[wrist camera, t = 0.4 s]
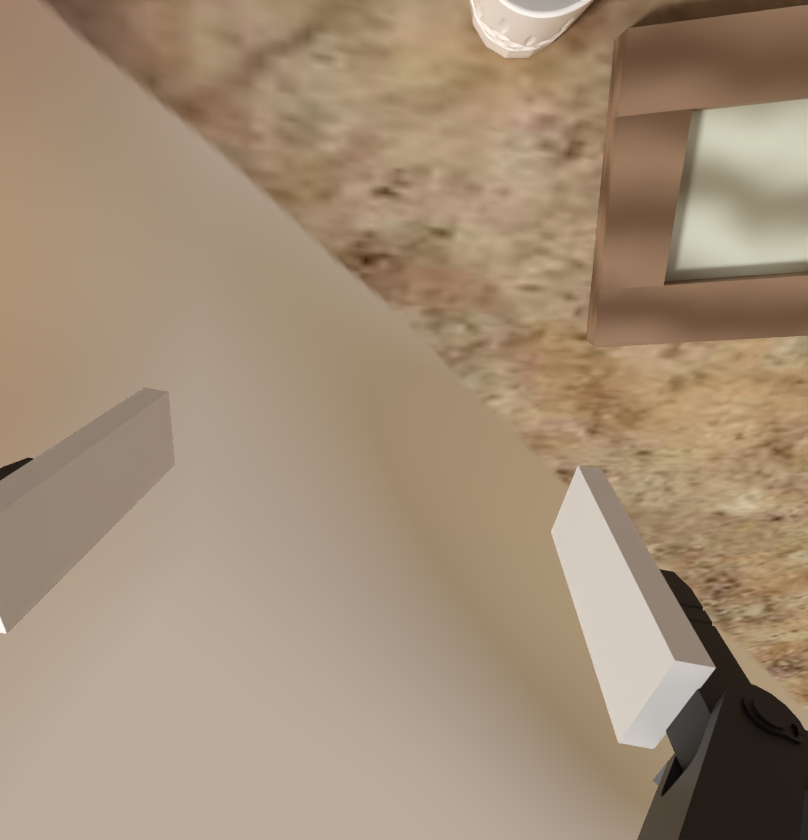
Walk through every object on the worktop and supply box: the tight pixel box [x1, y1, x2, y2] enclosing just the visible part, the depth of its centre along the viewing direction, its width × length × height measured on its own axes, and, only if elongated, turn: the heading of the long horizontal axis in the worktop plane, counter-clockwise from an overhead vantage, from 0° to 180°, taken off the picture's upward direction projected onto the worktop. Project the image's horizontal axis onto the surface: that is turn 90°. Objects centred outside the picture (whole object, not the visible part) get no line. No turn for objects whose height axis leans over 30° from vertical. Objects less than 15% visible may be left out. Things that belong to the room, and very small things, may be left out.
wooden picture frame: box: [586, 5, 808, 347], centre depth 31 cm, size 20×20×2 cm
